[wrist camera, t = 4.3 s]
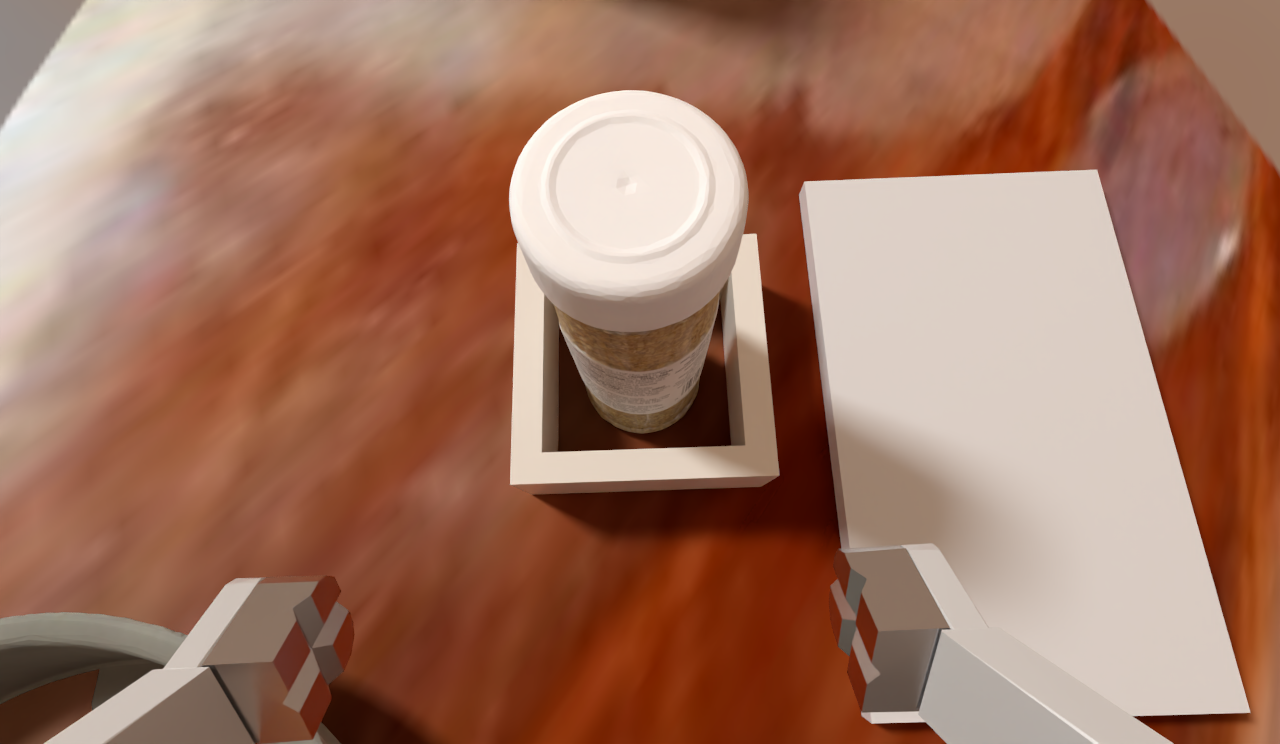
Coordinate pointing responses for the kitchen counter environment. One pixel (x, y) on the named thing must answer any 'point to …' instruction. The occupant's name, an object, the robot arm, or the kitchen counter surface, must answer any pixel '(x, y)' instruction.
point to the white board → (1014, 424)
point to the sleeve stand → (644, 468)
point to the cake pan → (89, 654)
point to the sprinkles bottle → (632, 244)
